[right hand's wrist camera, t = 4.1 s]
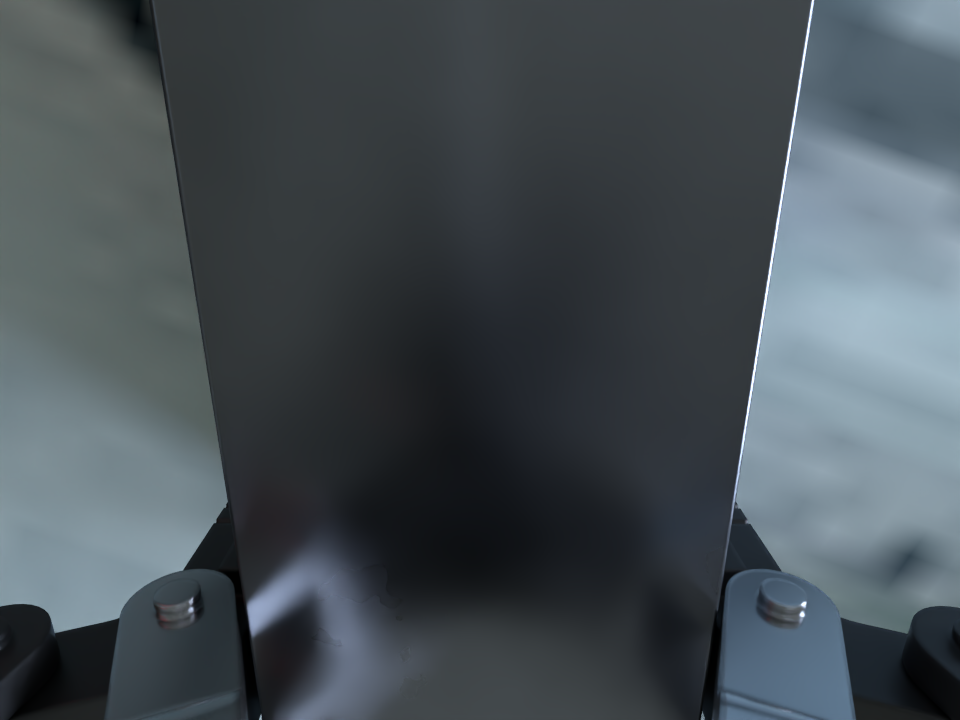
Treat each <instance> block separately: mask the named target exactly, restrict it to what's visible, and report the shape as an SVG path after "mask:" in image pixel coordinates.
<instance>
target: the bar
mask: <svg viewBox="0 0 960 720" xmlns="http://www.w3.org/2000/svg"><path fill="white" fill-rule="evenodd" d="M814 1H815V0H149V3H150V9H151V15H152V22H153V28H154V34H155V41H156V47H157V54H158V60H159V66H160V73H161V79H162V85H163V92H164V98H165V104H166V111H167V117H168V123H169V130H170V136H171V143H172V149H173V155H174V162H175V168H176V174H177V181H178V187H179V193H180V200H181V206H182V213H183V219H184V225H185V232H186V238H187V244H188V251H189V257H190V263H191V270H192V276H193V282H194V289H195V295H196V302H197V308H198V314H199V321H200V327H201V333H202V340H203V346H204V352H205V359H206V365H207V372H208V378H209V384H210V391H211V397H212V403H213V410H214V416H215V422H216V429H217V435H218V442H219V448H220V454H221V461H222V467H223V473H224V480H225V486H226V492H227V499H228V505H229V511H230V518H231V524H232V531H233V537H234V543H235V550H236V556H237V562H238V569H239V575H240V581H241V588H242V594H243V601H244V607H245V613H246V620H247V626H248V632H249V639H250V645H251V651H252V658H253V664H254V671H255V677H256V683H257V690H258V696H259V702H260V709H261V715H262V720H701V714H702V708H703V702H704V695H705V689H706V683H707V676H708V670H709V664H710V657H711V651H712V645H713V638H714V632H715V626H716V620H717V613H718V607H719V601H720V594H721V588H722V582H723V575H724V569H725V563H726V556H727V550H728V544H729V538H730V531H731V525H732V519H733V512H734V506H735V500H736V493H737V487H738V481H739V474H740V468H741V462H742V456H743V449H744V443H745V437H746V430H747V424H748V418H749V411H750V405H751V399H752V392H753V386H754V380H755V374H756V367H757V361H758V355H759V348H760V342H761V336H762V329H763V323H764V317H765V310H766V304H767V298H768V292H769V285H770V279H771V273H772V266H773V260H774V254H775V247H776V241H777V235H778V228H779V222H780V216H781V210H782V203H783V197H784V191H785V184H786V178H787V172H788V165H789V159H790V153H791V146H792V140H793V134H794V128H795V121H796V115H797V109H798V102H799V96H800V90H801V83H802V77H803V71H804V64H805V58H806V52H807V46H808V39H809V33H810V27H811V20H812V14H813V8H814Z"/></svg>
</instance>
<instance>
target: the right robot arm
mask: <svg viewBox="0 0 960 720" xmlns="http://www.w3.org/2000/svg"><path fill="white" fill-rule="evenodd" d="M702 711H703V714H704V716H705V719H704V720H960V608H956V607H948V606H935V607H929V608H925V609H922V610H920V611H919V612H917V613H916V614H915V615H914V617H913V619H912V622H911V625H910V629H909V632H908V634H906V633H901V632H897V631H892V630H888V629H883V628H879V627H874V626H870V625H865V624H861V623H857V622H853V621H849V620H846V619H843V618H841V617H840V614H839V611H838V609H837V607H836V605H835V604H834V603H833V601H832V600H831V599H830V598H829V597H828V596H827V595H826V594H825V593H824V592H823V591H821V590H820V589H819V588H817V587H816V586H814V585H813V584H811V583H809V582H808V581H806V580H803V579H801V578H799V577H797V576H794V575H791V574H788V573H785V572H782V571H781V569H780V568H779V566H778V565H777V563H776V562H775V560H774V559H773V557H772V556H771V554H770V553H769V551H768V550H767V548H766V547H765V545H764V544H763V542H762V541H761V539H760V538H759V536H758V535H757V533H756V532H755V530H754V529H753V527H752V526H751V524H748V520H747V518H746V517H745V515H744V514H743V512H742V511H741V509H738V505H737V503H736V502H735V506H734V512H733V519H732V525H731V531H730V538H729V544H728V550H727V556H726V563H725V569H724V575H723V582H722V588H721V594H720V601H719V607H718V613H717V620H716V626H715V632H714V638H713V645H712V651H711V657H710V664H709V670H708V676H707V683H706V689H705V695H704V702H703V708H702ZM260 715H261V709H260V702H259V696H258V690H257V683H256V677H255V671H254V664H253V658H252V651H251V645H250V639H249V632H248V626H247V620H246V613H245V607H244V601H243V594H242V588H241V581H240V575H239V569H238V562H237V556H236V550H235V543H234V537H233V531H232V524H231V518H230V511H229V505H228V503H227V504H226V508H224V509H223V510H222V512H221V513H220V515H219V516H218V518H217V522H216V523H214V524H213V525H212V527H211V529H210V530H209V532H208V533H207V535H206V536H205V538H204V539H203V541H202V542H201V544H200V545H199V547H198V548H197V550H196V551H195V553H194V554H193V556H192V558H191V559H190V561H189V562H188V564H187V565H186V567H185V568H184V570H183V571H179V572H175V573H172V574H169V575H166V576H163V577H161V578H159V579H157V580H154V581H152V582H151V583H149V584H147V585H146V586H144V587H143V588H141V589H140V590H139V591H137V592H136V593H135V594H134V595H133V596H132V597H131V598H130V599H129V600H128V601H127V603H126V604H125V606H124V607H123V609H122V611H121V614H120V618H118V619H115V620H111V621H107V622H103V623H99V624H94V625H90V626H85V627H81V628H76V629H72V630H67V631H63V632H58V633H55V632H54V629H53V625H52V622H51V618H50V616H49V614H48V613H47V612H46V611H45V610H44V609H42V608H40V607H38V606H34V605H27V604H14V605H7V606H1V607H0V720H259V718H260Z"/></svg>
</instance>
